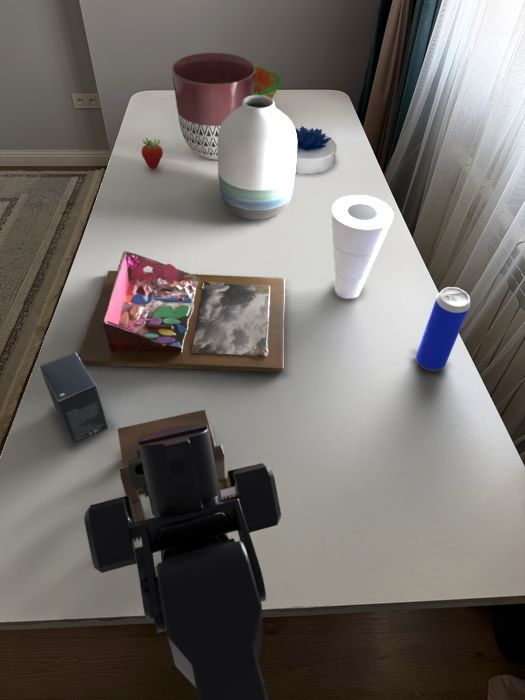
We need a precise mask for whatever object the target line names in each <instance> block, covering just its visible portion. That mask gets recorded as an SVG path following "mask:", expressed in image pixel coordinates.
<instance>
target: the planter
mask: <svg viewBox="0 0 525 700" xmlns="http://www.w3.org/2000/svg"><path fill="white" fill-rule="evenodd" d="M171 73H172V74H171V75H172V83H173V88H174V95H175V105H176V111H177V117H178V123H179V128H180V131H181V134H182V137H183V139H184V140H185V143H186V144H187V145H188V146H189V148H190V149H191V150H192V151H193V152H195V153H196V154H197V155H199V156H200V157H202V158H204V159H205V158H206V159H209V160H217V161H218V133H219V130H220V127H221V124H222V122H223V121H224V119H225V118H226V117H227V116H228V115H229V114H230V113H231V112H233V111H234V110H236V109H237V108H239V107H241V106H242V102H243V100H244V99H245V98H246V97H248V96H253V95H254V85H255V64H254V63H253V62H252V61H251V60H249V59H247V58H246V57H242V56H239V55H235V54H232V53H225V52H201V53H195V54H194V53H193V54H189V55H187V56H183V57H181V58H179V59H178V60H176V61H175V62H173V65H172V66H171Z"/></svg>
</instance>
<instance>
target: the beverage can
mask: <svg viewBox="0 0 525 700" xmlns="http://www.w3.org/2000/svg"><path fill="white" fill-rule="evenodd" d="M470 307H471V299H470V296H469V294H468V293H467V292H466V291H465V290H463V289H461V288H459V287H455V286H454V287H453V286H447V287H445V288H442V289H441V290H440V291H439V293H437V295H436V298H435V300H434V303H433V306H432V309H431V312H430V315H429V318H428V320H427V324H426V326H425V329H424V331H423V334H422V338H421V340H420V343H419V346H418V349H417V352H416V355H415V358H416V361H417V363H418V364H419V366H420V367H421V368H423V369H425V370H427V371H430V372H431V371H434V372H435V371H440V370H442V369H444V368H445V366H446V365H447V363H448V360H449V357H450V355H451V353H452V351H453V348H454V345H455V343H456V341H457V339H458V336H459V334H460V331H461V329H462V327H463V324H464V321H465V320H466V317H467V314H468V313H469V309H470Z"/></svg>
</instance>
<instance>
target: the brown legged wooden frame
mask: <svg viewBox="0 0 525 700" xmlns="http://www.w3.org/2000/svg"><path fill="white" fill-rule="evenodd" d="M200 423H201V424H207V425H208V429H209V435H210V440H211V445H212V451H213V456H214V461H215V466H216V472H217V477H218V479H226V467H225V466H226V465H225V464H226V463H225V452H224V448H223V445H222V444H219V445H216V442H215V438H214V435H213V431H212V428H211V424H210V420H209V417H208V414H207V411H206V409H201V410H197V411H192V412H187V413H182V414H179V415H178V414H177V415H173V416H168V417H164V418H159V419H155V420H150V421H147V422H141V423H137V424H132V425H129V426H128V425H127V426H124V427H123V426H122V427H118V428H117V434H118V441H119V447H120V454H121V461H122V467H121V468H119V475H120V481H121V484H122V487H123V490H124V494H125V496H129V498H130V500H131V502H133V501H135V500H136V499H140V501H141V506H142V513H143V519H142V520H146V519H147V518H146V515H145V511H144V507H143V503H142V500H141V496H143V495H145V493H144V490H143V489H139V490H134V489H133V486H132V482H131V478H130V473H129V467H128V459H129V458H133V457H136V455H137V450H136V448H139V445H138V439H139V438H141V437H142V436H145V435H147V434H149V433H152V432H155V431H159V430H162V429H166V428H170V427H175V426H181V425H187V424H200ZM221 500H222V499H221Z"/></svg>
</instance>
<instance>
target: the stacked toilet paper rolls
mask: <svg viewBox="0 0 525 700" xmlns="http://www.w3.org/2000/svg"><path fill="white" fill-rule="evenodd" d="M393 219H394V212H393V210H392V208H391V207H390V205H388V204H387V203H386V202H384V201H382V200H381V199H379V198H376V197H372V196H369V195H361V194H353V195H347V196H342V197H340V198H338V199H336V200H335V202H333V204H332V206H331V227H332V228H331V229H332V246H333V247H332V248H333V250H332V251H333V262H334V263H333V266H334V267H333V268H334V269H333V270H334V291H335V294H336V295H337V296H338V297H340V298H342V299H346V300H353V299H356V298H358V296H360V295H361V294H360V293H361V292H362V289H363V287H364V284H365V282H366V280H367V278H368V276H369V273H370V270H371V268H372V266H373V264H374V262H375V259H376V257H377V255H378V253H379V251H380V249H381V246H382V244H383V242H384V240H385V237H386V235H387V233H388V231H389V228H390V226H391V224H392V222H393Z"/></svg>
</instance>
